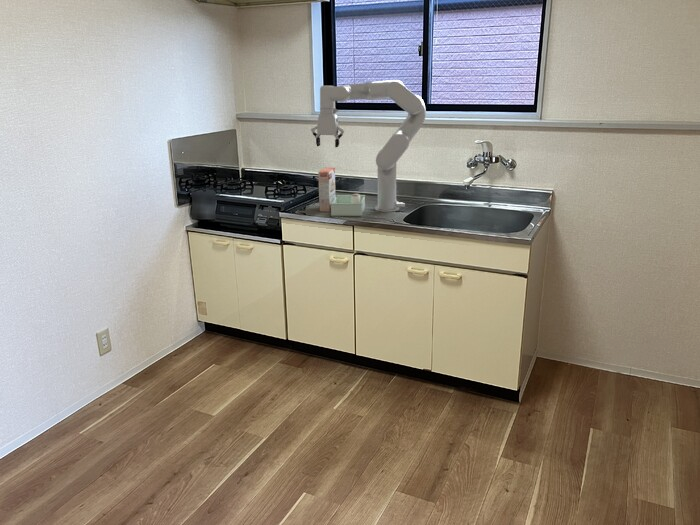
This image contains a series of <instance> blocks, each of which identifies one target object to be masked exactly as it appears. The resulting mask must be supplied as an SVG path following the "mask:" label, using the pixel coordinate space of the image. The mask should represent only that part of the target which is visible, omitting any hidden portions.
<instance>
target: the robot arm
mask: <svg viewBox="0 0 700 525" xmlns="http://www.w3.org/2000/svg"><path fill="white" fill-rule="evenodd" d="M354 100H355V101H356V100H367V101H379V100H380V101H381V100H392V101H393V103H395V104H396V105H397V106H399V107H400V108H401V109H402V110H404V111H405V112H406V113H408V114H407V116H406V117H405V119H404V120H403V122H402V123H401V125H400V126H399V127H398V128H397V129H396V131H395V132H393V134H392V135H391V137H390V138H389V139H388V140H387V142H386V143H385V145H384V146H383V147H382V149H380V150H379V151H378V153H377V155H376V156H375V164H376V166H377V205H375V207H374V210H375V211H378V212H383V213H389V212H391V213H392V212H398V211H399V210H400V207H402V208H403V207H406V203H405V202H401V201H400V202H399V201H398V199H397V163H398V161H399V160H400V158H401V157H402V156H403V155H404V153H405V152H406V151H407V149H408V148H409V146H410V143H411V141H412V140H413V138H414V137H415V136H416V135H417V133H418V132H419V131H420V129H421V128H422V125H423V124H424V122H425V120H426V115H427V110H426V109H427V108H426V105H425V102H424V99H422V97H421V96H420V95H418V94H415V93H414V92H412V91H411V90H410V89H409V88H407V87H406V85H405V84H404V83H403V81H401V80H399V79H391V80H390V79H389V80H378V81H367V82H364V83H363V82H362V83H353V84H343V85H342V84H341V85H338V86H334V85H322V86H320V89H319V114H318V117H317V125H316V126H314V127H312V128H310V131H311V133H312V135H313V137H314V138H315V145H316V146H317V147H320V146H321V138H320V137H321V136H333V137H334V138H335V139H334V147H335V148H338V147H339V146H340V139H341V138H342V136H343V135H344V134H345V130H344V129H343V128H342V127H339V119H338V114H336V113H338V112H339V110H338V109H337V108H336V102H341V103H345V102H346V101H354ZM316 131H317V132H316ZM339 132H340V133H339Z"/></svg>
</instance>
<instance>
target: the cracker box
mask: <svg viewBox="0 0 700 525" xmlns="http://www.w3.org/2000/svg"><path fill="white" fill-rule="evenodd" d="M317 172H318V173H317V174H318V198H319V200H318V201H319V202H318V203H319V204H318V205H319V212H330V213H331V205H330V203H332V202H333V200H334V199H335V195H336V168H335V167H324V168H322V169H320V170H319V171H317Z"/></svg>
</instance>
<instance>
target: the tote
mask: <svg viewBox="0 0 700 525" xmlns="http://www.w3.org/2000/svg"><path fill="white" fill-rule="evenodd" d="M359 195H360V203H352V194H344V195H343V194H342V195H341V194H335V199H334V200H333V202H332V203H330V205H331V211H330V215H331V217H332V216H335V217H336V216H339V217H340V216H342V217H343V216H344V217H345V216H355V217H356V216H357V217H358V216H360V217H361V216H362V215H363V213H364V210H365V208H366V201H365V200H366V199H365V197H366V195H365V194H359Z"/></svg>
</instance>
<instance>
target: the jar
mask: <svg viewBox="0 0 700 525" xmlns="http://www.w3.org/2000/svg"><path fill="white" fill-rule="evenodd" d="M351 195H352V203H360V195H361V194H360V193H352V194H351Z"/></svg>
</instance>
